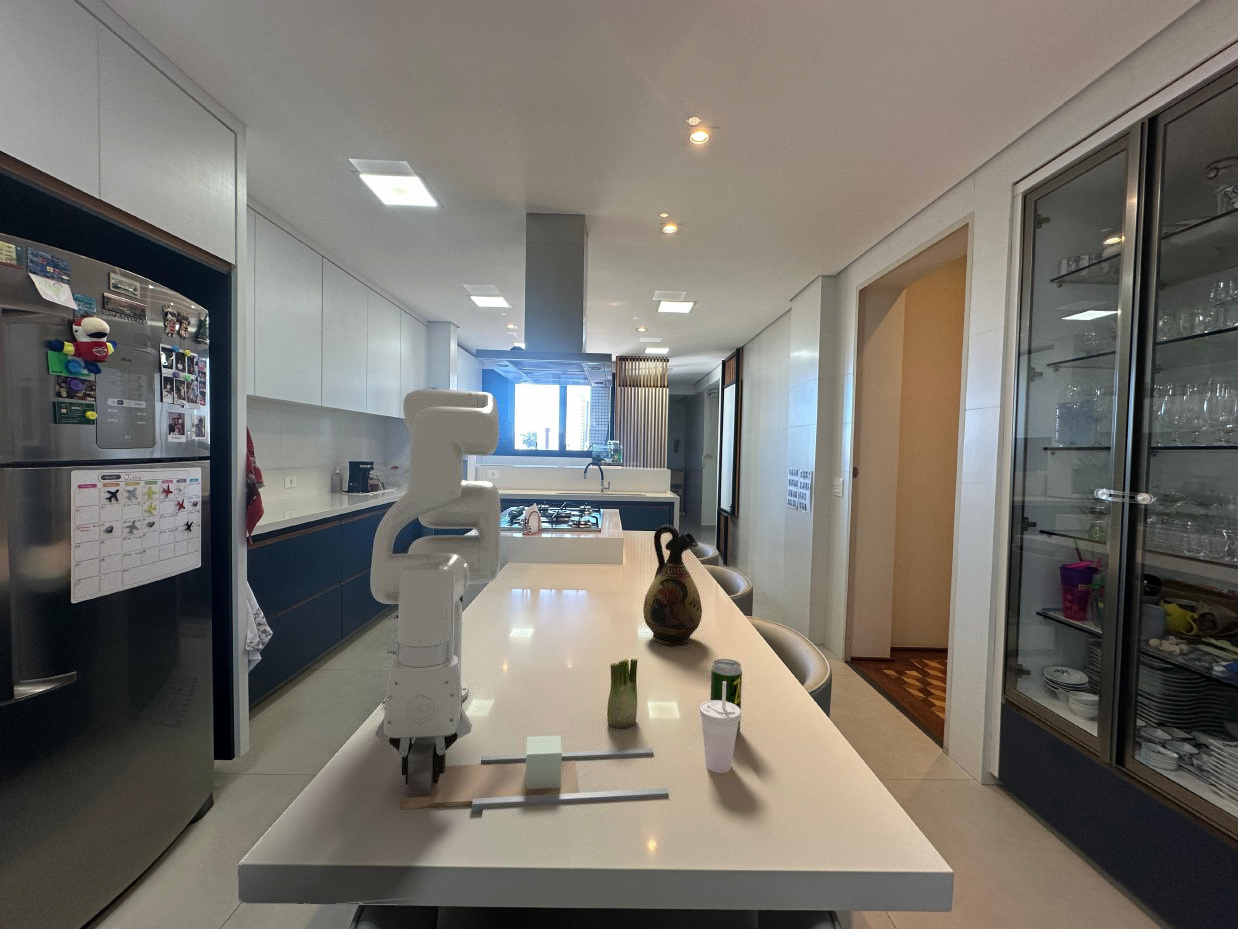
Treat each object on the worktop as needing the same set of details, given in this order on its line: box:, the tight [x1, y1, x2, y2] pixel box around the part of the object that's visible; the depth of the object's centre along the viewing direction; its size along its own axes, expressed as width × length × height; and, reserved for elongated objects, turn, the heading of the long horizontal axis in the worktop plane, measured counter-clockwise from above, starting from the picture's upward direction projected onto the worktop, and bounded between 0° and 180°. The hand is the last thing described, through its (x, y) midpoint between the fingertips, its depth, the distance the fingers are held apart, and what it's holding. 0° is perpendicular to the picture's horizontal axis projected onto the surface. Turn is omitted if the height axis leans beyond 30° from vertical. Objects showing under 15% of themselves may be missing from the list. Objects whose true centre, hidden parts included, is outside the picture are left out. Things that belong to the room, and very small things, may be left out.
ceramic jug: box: [642, 524, 703, 647], centre depth 148 cm, size 17×15×30 cm
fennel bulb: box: [606, 658, 638, 730], centre depth 100 cm, size 6×5×12 cm
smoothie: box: [698, 681, 742, 774], centre depth 87 cm, size 6×6×14 cm
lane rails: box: [471, 747, 670, 813], centre depth 83 cm, size 27×12×1 cm, turn 98°
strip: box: [400, 737, 580, 810], centre depth 82 cm, size 24×9×7 cm, turn 98°
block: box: [525, 735, 563, 789], centre depth 83 cm, size 5×5×5 cm
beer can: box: [709, 658, 743, 736], centre depth 100 cm, size 5×5×12 cm
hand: (423, 777), depth 81 cm, fingers closed on strip, 3 cm apart
